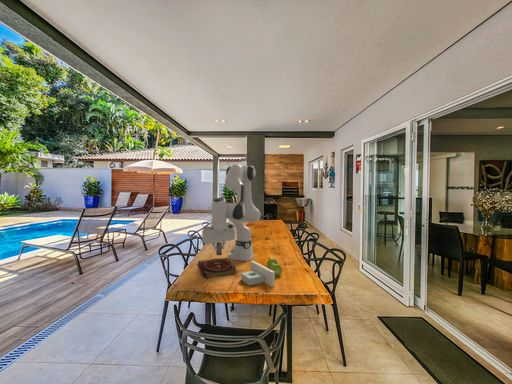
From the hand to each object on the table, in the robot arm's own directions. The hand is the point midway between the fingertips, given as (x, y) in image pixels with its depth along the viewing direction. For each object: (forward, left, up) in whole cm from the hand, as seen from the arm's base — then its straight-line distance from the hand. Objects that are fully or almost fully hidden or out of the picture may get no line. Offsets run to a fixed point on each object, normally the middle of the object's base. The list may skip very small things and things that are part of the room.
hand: (218, 249), depth 148 cm
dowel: (0, 0, -3) cm, 3 cm away
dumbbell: (+4, +37, -19) cm, 42 cm away
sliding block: (+11, +17, -19) cm, 27 cm away
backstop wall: (+11, +23, -19) cm, 31 cm away
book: (-21, +7, -19) cm, 29 cm away
